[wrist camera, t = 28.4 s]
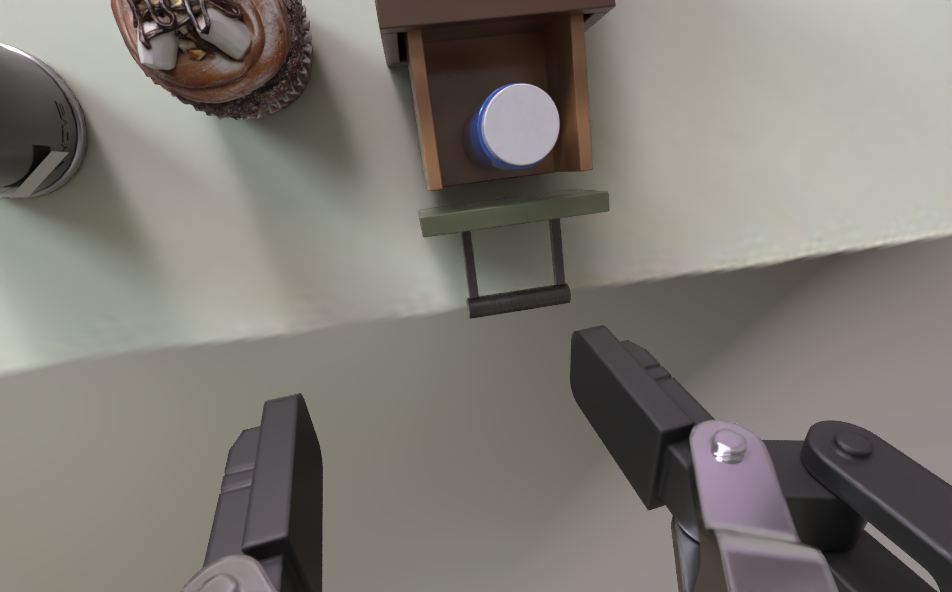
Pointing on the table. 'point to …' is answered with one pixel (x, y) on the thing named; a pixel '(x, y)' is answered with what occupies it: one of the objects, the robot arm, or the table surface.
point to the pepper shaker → (511, 129)
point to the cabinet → (470, 16)
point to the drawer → (461, 92)
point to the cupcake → (221, 51)
